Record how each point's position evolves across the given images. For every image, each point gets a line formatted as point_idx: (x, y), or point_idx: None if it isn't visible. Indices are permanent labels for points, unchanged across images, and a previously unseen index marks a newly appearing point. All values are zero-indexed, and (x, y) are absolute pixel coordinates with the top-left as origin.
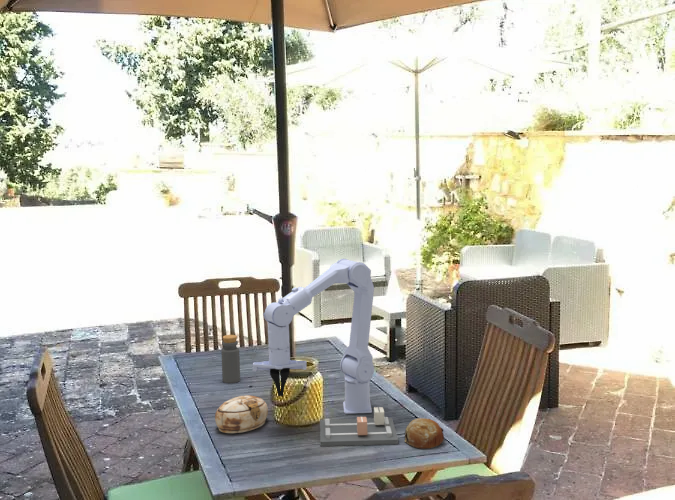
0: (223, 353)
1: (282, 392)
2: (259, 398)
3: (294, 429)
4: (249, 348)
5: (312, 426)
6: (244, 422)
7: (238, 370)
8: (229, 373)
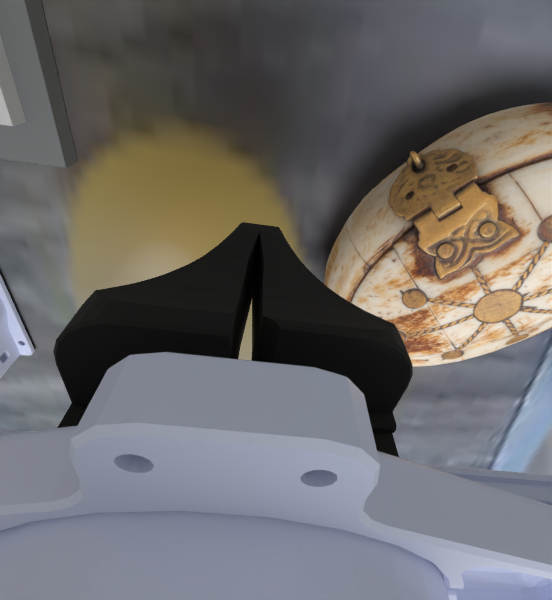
0: None
1: (241, 229)
2: None
3: (203, 107)
4: None
5: (111, 133)
6: (509, 112)
7: None
8: None
